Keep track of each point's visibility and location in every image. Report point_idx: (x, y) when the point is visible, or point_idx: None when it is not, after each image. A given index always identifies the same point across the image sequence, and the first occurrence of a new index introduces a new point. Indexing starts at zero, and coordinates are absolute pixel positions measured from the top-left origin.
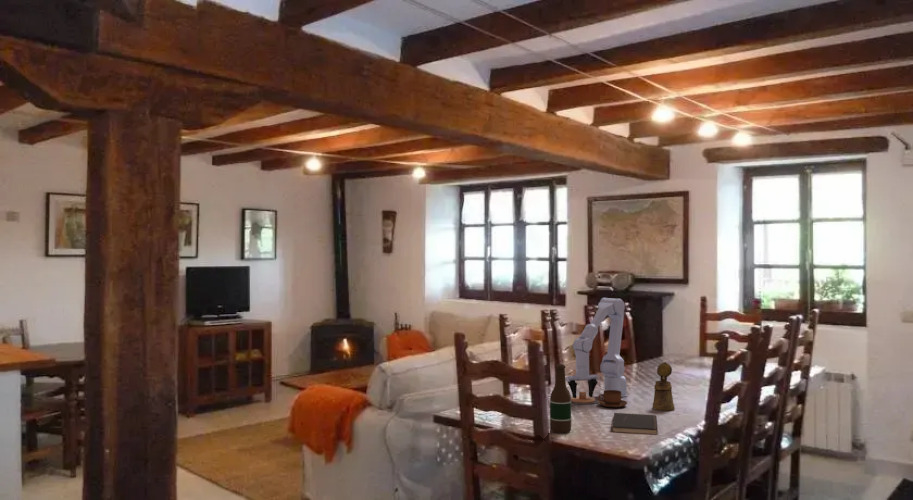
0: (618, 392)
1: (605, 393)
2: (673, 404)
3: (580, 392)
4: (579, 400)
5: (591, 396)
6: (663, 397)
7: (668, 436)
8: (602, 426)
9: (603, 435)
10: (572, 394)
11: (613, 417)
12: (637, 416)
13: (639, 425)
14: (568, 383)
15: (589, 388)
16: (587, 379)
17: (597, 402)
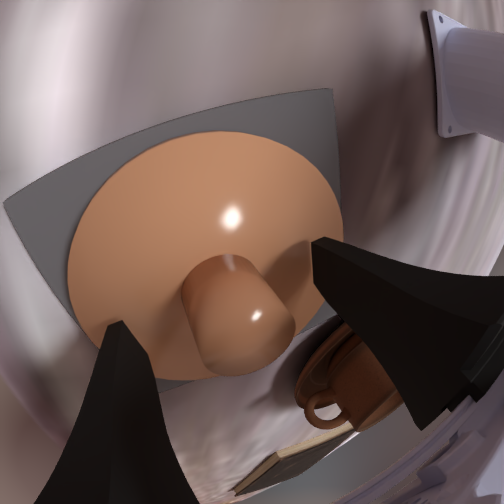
0: None
1: (353, 427)
2: None
3: (217, 368)
4: (178, 367)
5: (321, 286)
6: None
7: None
8: (221, 486)
9: (213, 497)
10: (103, 356)
11: (260, 477)
12: (316, 453)
13: (285, 478)
14: (55, 501)
15: (379, 302)
16: (423, 452)
17: (313, 323)
